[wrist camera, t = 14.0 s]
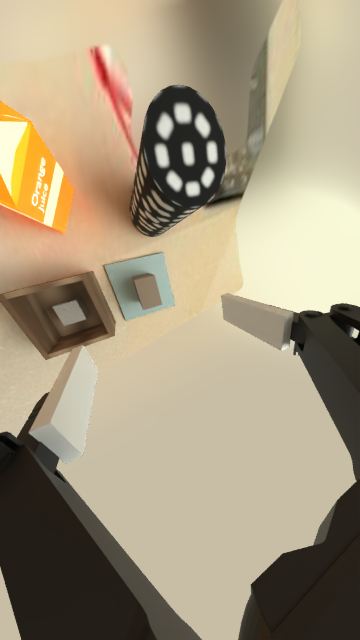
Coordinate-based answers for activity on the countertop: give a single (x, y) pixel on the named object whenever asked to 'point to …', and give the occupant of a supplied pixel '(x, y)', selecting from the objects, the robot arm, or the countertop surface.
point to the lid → (141, 285)
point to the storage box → (43, 322)
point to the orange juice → (31, 173)
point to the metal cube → (71, 310)
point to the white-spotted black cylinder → (176, 160)
